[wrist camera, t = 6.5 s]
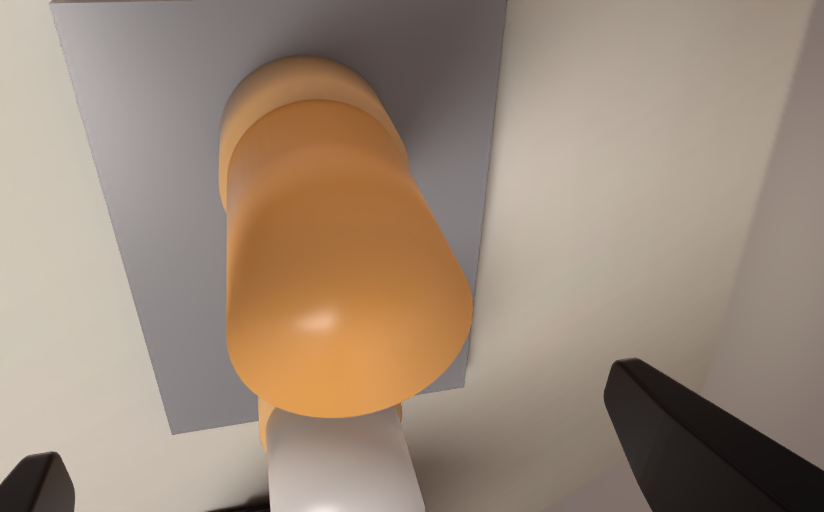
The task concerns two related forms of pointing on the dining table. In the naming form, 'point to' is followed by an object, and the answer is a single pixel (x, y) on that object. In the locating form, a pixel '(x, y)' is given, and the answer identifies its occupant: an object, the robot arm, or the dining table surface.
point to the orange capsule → (335, 266)
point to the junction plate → (181, 170)
